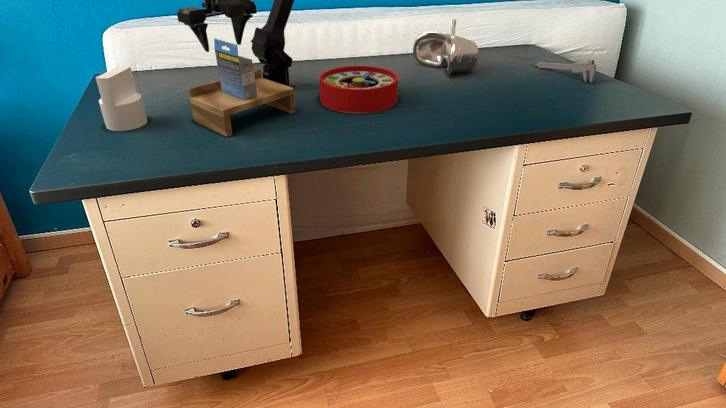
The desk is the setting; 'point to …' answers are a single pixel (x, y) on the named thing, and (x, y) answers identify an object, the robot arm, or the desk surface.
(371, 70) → the toy clock
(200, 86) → the shelf
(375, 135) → the desk surface
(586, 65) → the caliper
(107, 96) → the cylinder with rectangular tab
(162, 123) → the desk surface
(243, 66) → the label tape box
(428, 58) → the silver curved metal piece
